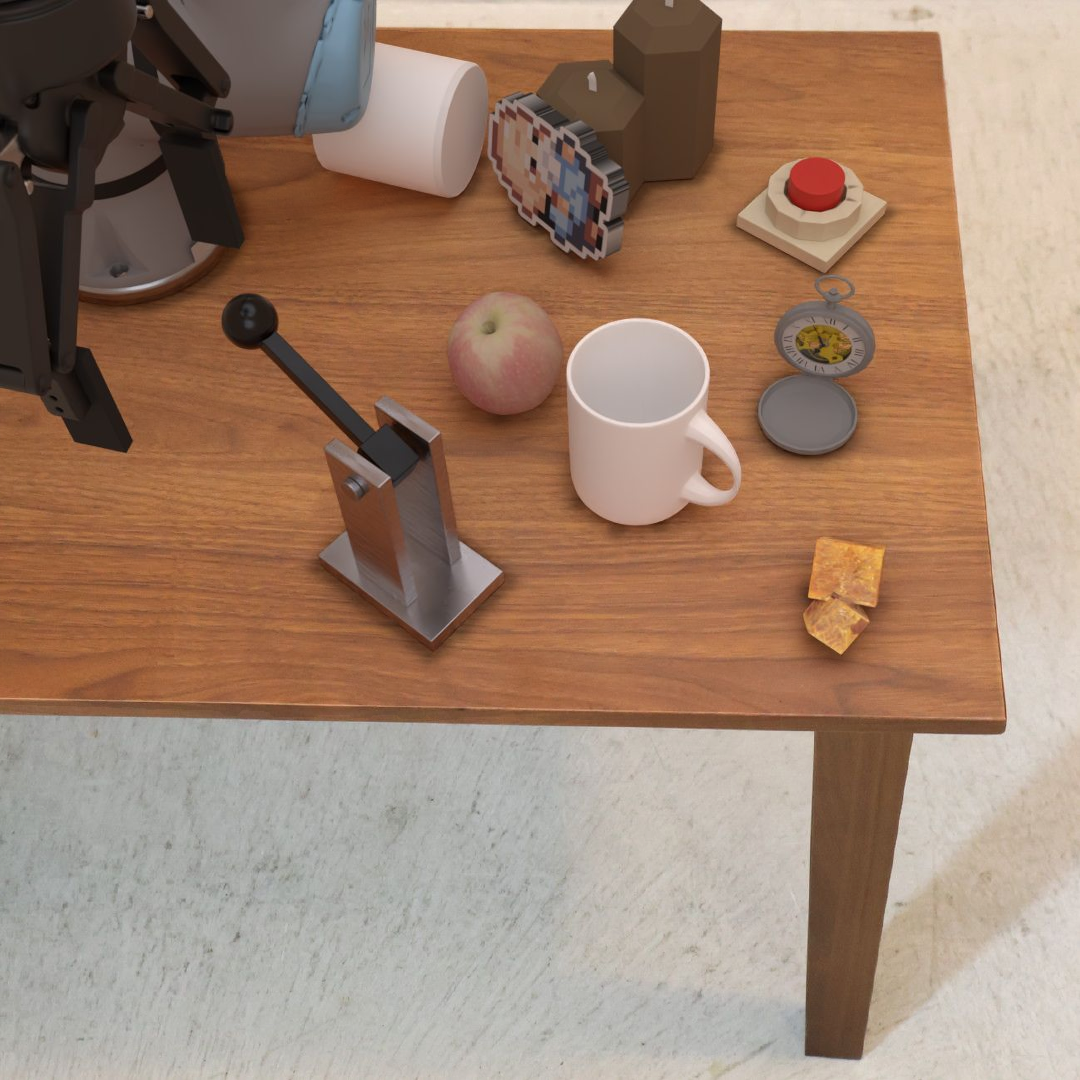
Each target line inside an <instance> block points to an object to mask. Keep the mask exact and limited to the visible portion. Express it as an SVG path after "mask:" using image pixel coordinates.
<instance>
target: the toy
mask: <svg viewBox="0 0 1080 1080" xmlns="http://www.w3.org/2000/svg"><path fill="white" fill-rule="evenodd" d="M487 133H488V135H487V158H488V160H489V161H490V162H491V163H492V170H493V172H494V173H495V174H496V175H497V180H498V182H499V184H500V185H501V186H503V187H504V188H505V189H506V190H507V196H508V198H509V200H510V201H511V202H512V203H513V204H515V205H516V206H517V213H518V214H519V215H520V217H521V218H523V219H524V220H525V221H527V222H528V223H529V224H531V225H532V226H533V227H536V226H538V225H540V226H541V227H543V228H544V229H545V230H546V231H547V232H549V239H550V240H551V241H552V243H553V244H554V245H556V246H557V247H558V248H559V249H561V250H562V251H563V252H565V253H566V254H568V253H570V252H573V253H575V254H576V255H578V257H580V258H581V259H583V260H586V259H589V258H592V259H593V260H594V261H595V262H596V261H600V260H602V259H606V258H608V257H611V256H612V255H615V254H616V253H618V252H620V251H621V249H622V246H623V245H622V244H623V235H624V227H625V221H624V219H623V218H622V216H625V215H626V213H627V208H628V206H627V203H628V195H629V183H628V182H627V181H626V180H625V178H624V173H625V172H624V169H623V168H622V167H620V166H619V165H618V164H617V163H615V162H614V161H613V160H611V159H610V158H609V157H608V151H607V149H606V147H605V146H604V145H602V144H601V143H600V142H598V141H597V137H596V132H595V131H594V129H592V128H591V127H590V126H588V125H587V124H585V123H584V122H582V121H581V120H580V119H577V120H574V121H572V122H570V120H569V119H568V118H566V117H565V116H564V115H562V114H561V113H560V112H558V111H557V110H553V108H552V107H551V106H550V105H549V104H547V103H546V102H545V101H543V100H542V99H540V98H539V97H538V96H536V93H534V92H528V93H523V92H522V91H520V90H519V91H515V92H513V93H511V94H508V95H506V96H503V97H502V98H501V100H498V101H496V102H495V104H494V111H492V112H490V113H489V114H488V132H487Z"/></svg>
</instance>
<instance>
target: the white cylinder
mask: <svg viewBox="0 0 1080 1080" xmlns="http://www.w3.org/2000/svg"><path fill="white" fill-rule="evenodd" d="M489 106H490V105H489V87H488V80H487V77H486V74H485V72H484V70H483V69H482V68H481V67H480V66H479V65H478V64H477V63H476V62H472V61H468V60H463V59H458V58H453V57H449V56H444V55H439V54H435V53H430V52H425V51H420V50H416V49H411V48H406V47H402V46H396V45H392V44H387V43H382V42H379V41H375V54H374V65H373V76H372V83H371V90H370V96H369V101H368V105H367V109H366V111H365V113H364V116H363V117H362V119H361V120H360V122H359V123H358V124H357V125H356V126H354V127H353V128H351V129H349V130H346V131H342V132H332V133H322V134H311V137H312V144H313V149H314V150H313V151H314V153H315V156H316V159H317V161H318V163H320V165H321V166H322V168H324V169H326V170H328V171H330V172H335V173H340V174H343V175H347V176H352V177H356V178H360V179H365V180H368V181H373V182H379V183H382V184H385V185H391V186H394V187H399V188H403V189H407V190H412V191H417V192H420V193H425V194H428V195H432V196H437V197H441V198H446V199H452V198H456V197H458V196H459V195H461V193H462V192H464V191H465V190H466V188H467V187H468V185H469V183H470V182H471V180H472V178H473V176H474V173H475V172H476V169H477V167H478V163H479V160H480V157H481V155H482V150H483V146H484V142H485V138H486V132H487V126H488V120H489Z"/></svg>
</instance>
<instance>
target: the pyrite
mask: <svg viewBox="0 0 1080 1080" xmlns="http://www.w3.org/2000/svg"><path fill="white" fill-rule="evenodd" d="M815 541H816V542H815V546H814V553H813V560H812V567H811V574H810V580H809V585H808V586H809V587H808V592H807V598H808V599H813V600H812V602H811V603H810V604H809V606H808V607H807V608H806V610H805V611H804V612H803V613H802V617H803V621H804V624H805V628H806V631H807V634H808V635H811V636H812V637H813V638H815V639H817V640H818V641H820V642H821V643H822V644H824V645H825V646H827V647H828V648H830V649H831V650H833V651H834V652H836V653H838V654H839V655H843V653H844V652H845V651H846V650H847V649H848V648H849V647H850V646H851V644H852V643H853V642H854V641H855V640H856V639H857V637H859V635H860V634H861V633H862V632H863V631H864V629H866V627H867V626H868V624H869V623H870V619H869V617H868V615H867V613H866V611H865V610H864V608H863V607H864V606H865V607H871V608H876V607H877V605H878V603H879V599H880V597H879V596H880V591H881V586H882V585H881V584H882V578H883V572H884V566H885V565H884V564H885V559H886V552H887V547H888V546H887V544H883V543H882V544H881V543H876V542H875V543H873V542H869V541H868V542H867V541H861V540H855V539H849V538H842V537H835V536H834V537H833V536H823V535H822V536H819V537H818V538H816V539H815ZM862 606H863V607H862Z"/></svg>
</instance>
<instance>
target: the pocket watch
mask: <svg viewBox="0 0 1080 1080" xmlns="http://www.w3.org/2000/svg"><path fill="white" fill-rule="evenodd" d="M826 279H836V280H837V279H838V280H840V281H842V282H845V283H846V284H847V285H848V286H849V287H850V290H849V291H848V293H847V294H845V295H842V294H841V293H840V292H839V291H838V288H835V287H831V288H830V289H829V291H828V290H827V291H825V292H824V291H823V290H822V289H821V287H820V282H822V281H823V280H826ZM813 285H814V289H815V290H816V292H817V293H818V294H820V295H821V296H822V298H823V299H824V300H810V301H809V300H808V301H805V302H804V301H803V302H800V303H798V304H796V305H794V306H791V307H790V308H789V309H787V310H786V311H785V312H784V313H783V315H782V316H781V317H780V318H779V320H778V322H777V323H776V325H775V328H774V333H773V339H774V340H773V341H774V345H775V347H776V350H777V352H778V354H779V355H780V356H781V357H782V358H783V360H785V362H786V363H787V364H788V365H790V367H793V368H794V369H796V370H797V371H800V372H801V373H799V374H793V375H789V376H784V377H782V378H779V379H778V380H776V381H774V382H772V383H771V384H770V385H769V386H768V387H767V388H766V389H765V390H764V392H763V393H762V394H761V396H760V398H759V401H758V403H757V418H758V424H759V426H760V428H761V430H762V432H763V433H764V435H765V437H767V438H768V439H769V440H770V441H771V442H772V443H773V444H775V445H776V446H778V447H779V448H781V449H783V450H785V451H788V452H791V453H794V454H798V455H805V456H806V455H808V456H816V455H824V454H826V453H830V452H833V451H836V450H837V449H839V448H840V447H843V445H845V444H846V443H847V442H848V441H849V440H850V439H851V437H852V436H853V434H854V432H855V430H856V428H857V426H858V418H859V417H858V416H859V411H858V406H857V404H856V402H855V400H854V397H853V396H852V395H851V394H850V393H849V392H848V391H847V389H846V388H845V387H843V386H842V385H840V384H839V383H837V382H836V381H834V379H843V378H848V377H852V376H854V375H856V374H860V373H861V372H862V371H863V370H865V369H866V368H867V367H868V366H869V365H870V363H871V362H872V361H873V359H874V355H875V351H876V346H877V345H876V337H875V333H874V329H873V327H872V326H871V325H870V323H869V321H868V320H867V319H865V318H864V317H863V315H862V314H861V313H859V312H857V311H855V309H853V308H851V307H849V306H846V305H843V304H841V302H842V301H843V300H846V299H849V298H851V297H852V296H854V295H855V292H856V287H855V285H854V283H853V282H852V281H851V280H849V279H848V278H846V277H844V276H841V275H838V274H825V275H821V276H819V277H817V278H816V279H815V281H814V283H813ZM840 334H841V335H840ZM813 343H815V344H816V346H815V347H813V346H811V344H813ZM840 344H841V345H840ZM847 345H849V346H850V347H849V348H847V349H845V348H843V347H846V346H847ZM834 349H836V351H835V350H834Z"/></svg>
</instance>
